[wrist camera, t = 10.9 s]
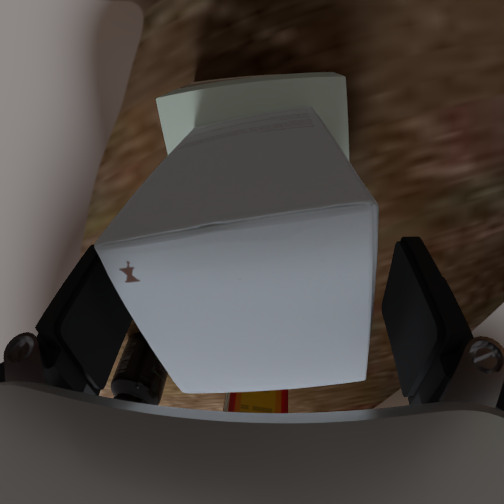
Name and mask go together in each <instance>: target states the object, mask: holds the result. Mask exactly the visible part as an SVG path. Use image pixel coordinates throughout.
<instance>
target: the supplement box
mask: <svg viewBox="0 0 504 504" xmlns="http://www.w3.org/2000/svg"><path fill="white" fill-rule="evenodd" d="M378 211H379V208H378V204H377V202H376V201H375V199H374V198H373V196H372V195H371V193H370V192H369V191H368V189H367V188H366V186H365V185H364V184H363V182H362V181H361V179H360V178H359V176H358V175H357V173H356V171H355V170H354V168H353V167H352V165H351V164H350V162H349V161H348V159H347V157H346V156H345V154H344V152H343V151H342V149H341V148H340V146H339V145H338V143H337V142H336V140H335V139H334V137H333V136H332V134H331V133H330V131H329V130H328V128H327V127H326V125H325V124H324V122H323V121H322V119H321V118H320V117H319V116H318V114H317V113H316V112H315V110H314V109H313V108H312V107H311V106H308V107H299V108H291V109H284V110H278V111H271V112H266V113H260V114H255V115H249V116H244V117H239V118H235V119H230V120H225V121H221V122H216V123H212V124H208V125H203V126H199V127H195V128H193V129H192V131H191V132H190V133H189V134H188V135H187V136H186V137H185V138H184V139H183V140H182V141H181V142H180V143H179V144H178V145H177V146H176V147H175V148H174V149H173V151H172V152H171V153H170V154H169V155H168V156H167V157H166V158H165V159H164V160H163V161H162V162H161V164H160V165H159V166H158V167H157V168H156V169H155V170H154V172H153V173H152V174H151V175H150V176H149V177H148V178H147V180H146V181H145V182H144V183H143V184H142V185H141V187H140V188H139V189H138V190H137V191H136V192H135V194H134V195H133V196H132V197H131V198H130V200H129V201H128V202H127V203H126V205H125V206H124V207H123V208H122V209H121V211H120V212H119V213H118V214H117V216H116V217H115V218H114V219H113V221H112V222H111V223H110V225H109V226H108V227H107V228H106V230H105V231H104V232H103V234H102V235H101V236H100V238H99V239H98V240H97V242H96V243H95V245H94V248H95V250H96V252H97V253H98V255H99V257H100V259H101V261H102V263H103V265H104V267H105V269H106V272H107V274H108V276H109V278H110V280H111V281H112V283H113V285H114V287H115V289H116V291H117V292H118V294H119V296H120V298H121V300H122V301H123V303H124V305H125V306H126V308H127V310H128V311H129V313H130V315H131V316H132V318H133V320H134V321H135V323H136V325H137V326H138V328H139V330H140V331H141V333H142V334H143V336H144V337H145V339H146V340H147V342H148V344H149V345H150V347H151V348H152V350H153V351H154V353H155V354H156V356H157V357H158V359H159V360H160V362H161V363H162V365H163V366H164V368H165V369H166V371H167V372H168V374H169V375H170V376H171V378H172V380H173V381H174V382H175V384H176V385H177V386H178V387H179V389H180V390H181V391H182V392H184V393H227V392H252V391H269V390H283V389H295V388H305V387H315V386H324V385H333V384H341V383H349V382H356V381H363V380H365V379H366V371H367V361H368V351H369V342H370V333H371V325H372V315H373V305H374V293H375V280H376V265H377V244H378Z"/></svg>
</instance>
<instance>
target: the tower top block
mask: <svg viewBox="0 0 504 504" xmlns="http://www.w3.org/2000/svg"><path fill="white" fill-rule="evenodd" d="M156 102H157V107H158V112H159V117H160V121H161V126H162V130H163V135H164V140H165V144H166V148H167V153H168V155H169V154H170V153H171V152H172V151H173V149H174V148H175V147H176V146H177V145H178V144H179V143H180V142H181V141H182V140H183V139H184V138H185V137H186V136H187V135H188V134H189V133H190V132H191V131H192V129H193V128H195V127H199V126H203V125H208V124H212V123H216V122H221V121H225V120H230V119H235V118H239V117H244V116H249V115H255V114H260V113H266V112H271V111H278V110H284V109H291V108H299V107H308V106H311V107H312V108H313V109H314V110H315V112H316V113H317V114H318V116H319V117H320V118H321V119H322V121H323V122H324V124H325V125H326V127H327V128H328V130H329V131H330V133H331V134H332V136H333V137H334V139H335V140H336V142H337V143H338V145H339V146H340V148H341V149H342V151H343V152H344V154H345V156H346V157H347V159H348V161H349V133H348V108H347V91H346V77H345V76H343V75H340V74H337V73H334V72H314V73H295V74H281V75H270V76H260V77H251V78H242V79H235V80H227V81H221V82H214V83H208V84H202V85H196V86H191V87H186V88H181V89H176V90H174V91H172V92H169V93H167V94H165V95H162V96H160V97H158V98H156Z"/></svg>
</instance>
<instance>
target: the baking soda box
mask: <svg viewBox="0 0 504 504" xmlns="http://www.w3.org/2000/svg"><path fill="white" fill-rule="evenodd" d="M223 412H240V413H288V389H283V390H269V391H252V392H227V393H226V394H225V401H224V408H223Z"/></svg>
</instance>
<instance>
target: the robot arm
mask: <svg viewBox="0 0 504 504" xmlns="http://www.w3.org/2000/svg"><path fill="white" fill-rule="evenodd" d="M382 314H383V318H384V321H385V325H386V329H387V332H388V336H389V340H390V344H391V347H392V351H393V355H394V359H395V363H396V368H397V372H398V376H399V380H400V385H401V389H402V393H403V396H404V397H408V400H409V404H410V405H407V406H399V407H391V408H380V409H368V410H355V411H341V412H322V413H240V412H221V411H207V410H195V409H184V408H175V407H166V406H158V405H151V404H143V403H137V402H130V401H124V400H118V399H112V398H107V397H102V396H99V393H100V390H101V389H103V388H104V387H105V385H106V383H107V380H108V377H109V375H110V372H111V370H112V367H113V365H114V362H115V360H116V357H117V355H118V352H119V350H120V347H121V345H122V342H123V340H124V338H125V335H126V333H127V330H128V328H129V326H130V323H131V321H132V319H133V318H132V316H131V315H130V313H129V311H128V310H127V308H126V306H125V305H124V303H123V301H122V300H121V298H120V296H119V294H118V292H117V291H116V289H115V287H114V285H113V283H112V281H111V280H110V278H109V276H108V274H107V272H106V269H105V267H104V265H103V263H102V261H101V259H100V257H99V255H98V253H97V252H96V250H95V248H94V245H91V246H90V247H89V248H88V250H87V251H86V252H85V254H84V255H83V256H82V258H81V259H80V261H79V262H78V263H77V265H76V266H75V268H74V269H73V271H72V272H71V273H70V275H69V276H68V278H67V279H66V280H65V282H64V283H63V285H62V286H61V288H60V289H59V291H58V292H57V294H56V295H55V297H54V298H53V300H52V301H51V303H50V305H49V306H48V308H47V309H46V311H45V312H44V314H43V316H42V317H41V319H40V320H39V322H38V324H37V325H36V327H35V328H36V330H37V331H38V335H37V337H36V336H35V335H34V334H32V333H29V332H26V333H21V334H19V335H17V336H16V337H14V338H13V339H12V340H11V341H10V342H9V343H8V345H7V346H6V348H5V351H4V362H2V363H0V504H504V348H503V347H502V346H501V345H500V344H499V343H498V342H497V341H495V340H493V339H491V338H488V337H482V336H480V337H475V338H474V337H473V335H472V333H471V330H470V328H469V326H468V324H467V322H466V319H465V317H464V315H463V313H462V311H461V309H460V307H459V305H458V303H457V301H456V299H455V297H454V295H453V293H452V291H451V289H450V287H449V285H448V283H447V281H446V280H445V279H444V277H442V275H441V273H440V272H439V270H438V268H437V266H436V264H435V262H434V261H433V259H432V257H431V255H430V253H429V252H428V250H427V248H426V247H425V245H424V243H423V241H422V240H421V238H420V237H402V239H401V241H399V242H396V244H395V249H394V254H393V258H392V263H391V268H390V272H389V277H388V281H387V285H386V289H385V294H384V298H383V302H382ZM83 392H84V393H83Z"/></svg>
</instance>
